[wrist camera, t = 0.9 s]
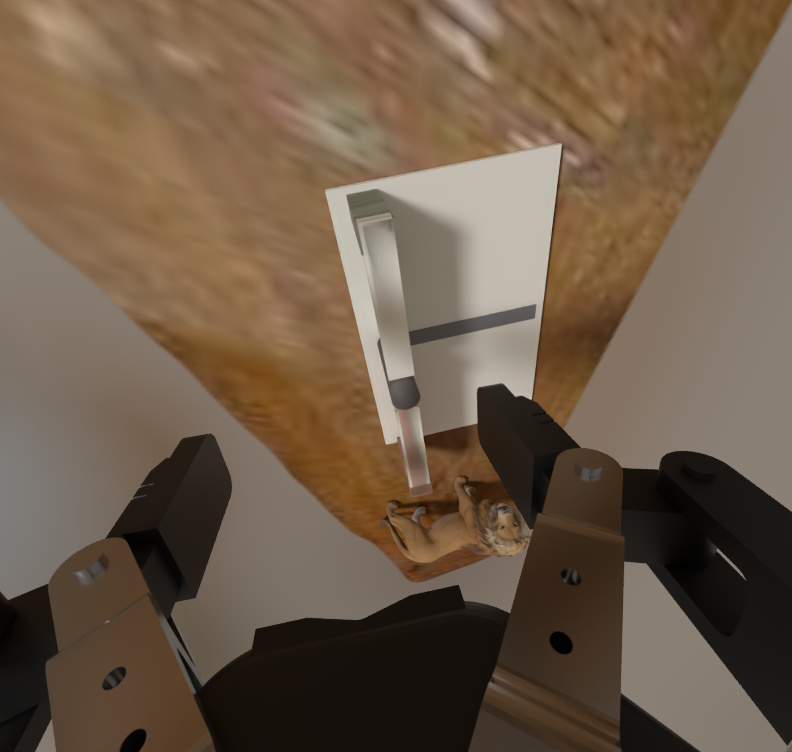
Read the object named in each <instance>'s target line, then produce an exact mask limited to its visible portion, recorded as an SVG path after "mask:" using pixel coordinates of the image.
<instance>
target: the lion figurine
mask: <svg viewBox="0 0 792 752" xmlns="http://www.w3.org/2000/svg"><path fill="white" fill-rule="evenodd" d="M466 480H467V479H466V477H464V476H458V477H457V478H456V480H455V490H456V491H457V493H458V497H459V511H458V512H454V513H450V514H447V515H444V516H442V517H440V518H439V519H437V520H436V521H435V522H434V523H433V524H432V526H431V527H430V528H429V529H426V528H424V527H423V526H422V525H421V523H420V515H421V514H425V513H426V508H425V507H424V506H421V507H418V508H417V509H416V510H415V512H414V514H413V516H412V518H411V519H410V518H407V517H403V516H400V515H397V514H395V513H394V510H395V509H397V507H398V503H397V502H395V501H390V502H389V503H387V505H386V510H387V514H388V517H389V520H390V521H389V520H382V521H380V524H381V525H382V526H388V527H389V528H390V530H391V533H392V535H393V538H394V540H395V542H396V544H397V546H398V547H399V549H400V550H401V552H402V553H403V554H404V555H405V556H406V557H408V558H409V559H411V560H413V561H416V562H433V561H435V560H437V559H439V558H440V557H442V556H444V555H446V554H448V553H450V552H453V551H455V550H458V549H462V548H463V549H468V550H471V551H473V552H474V553H477V554H481V555H484V554H489V555H492V554H494V555H496V556H497V557H500V556H512V555H514V554H519V552H522V551H524V549H525V547H526V545H527V543H528V542H527V541H528V540H529V539H530V538H531V537H530V536H529V533H528V532H527V531H526V529H527V528H526V527H525V522H524V520H523V517H522V515H521V513H520V512H519V511H518V510H517V509H515V508H514V507H513V506H509V505H507V504H504V503H494V502H493V501H492V500H490V499H483V500H481V501H477V502H476V501H475V499H474V498H473V494H474V493H475V491H476V489H475V487H473V486H471V487H468V488H467V489H466V490H465V489H464V486H463V485H464V484H465V483H466ZM393 525H394V526H397V527H398V528H399V529H400V530H401V532H402V533H403V535H404V537H405V540H406V543H407V546H405V544H404V543H403V541H402V540H401V538H400V536H399V535H398V533H397V531H396V529H395V528H394V526H393Z"/></svg>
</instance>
